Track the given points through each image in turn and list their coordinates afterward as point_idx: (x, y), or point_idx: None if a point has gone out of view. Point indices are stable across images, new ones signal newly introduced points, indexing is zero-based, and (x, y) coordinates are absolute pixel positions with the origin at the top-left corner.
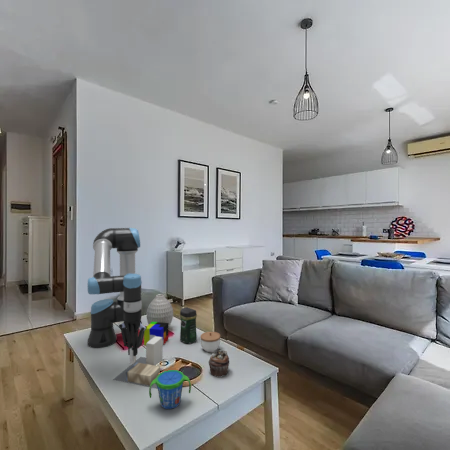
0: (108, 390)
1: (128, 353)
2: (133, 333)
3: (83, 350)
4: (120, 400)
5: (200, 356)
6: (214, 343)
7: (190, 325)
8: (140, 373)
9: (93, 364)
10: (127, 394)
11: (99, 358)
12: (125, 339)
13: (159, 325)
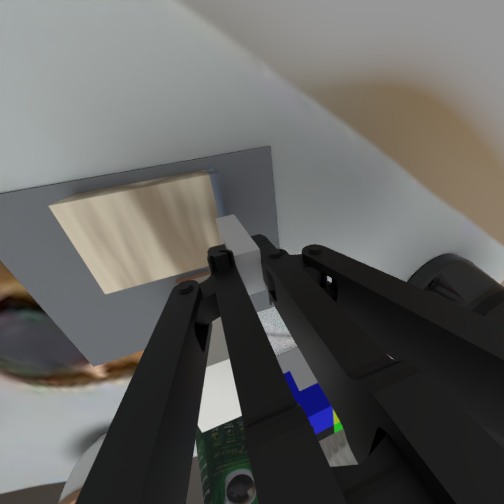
0: (228, 69)
1: (263, 237)
2: (264, 440)
3: (458, 233)
4: (88, 6)
5: (110, 409)
6: (63, 491)
7: (209, 497)
8: (132, 198)
9: (396, 194)
10: (111, 81)
11: (396, 229)
12: (348, 283)
13: (314, 431)
